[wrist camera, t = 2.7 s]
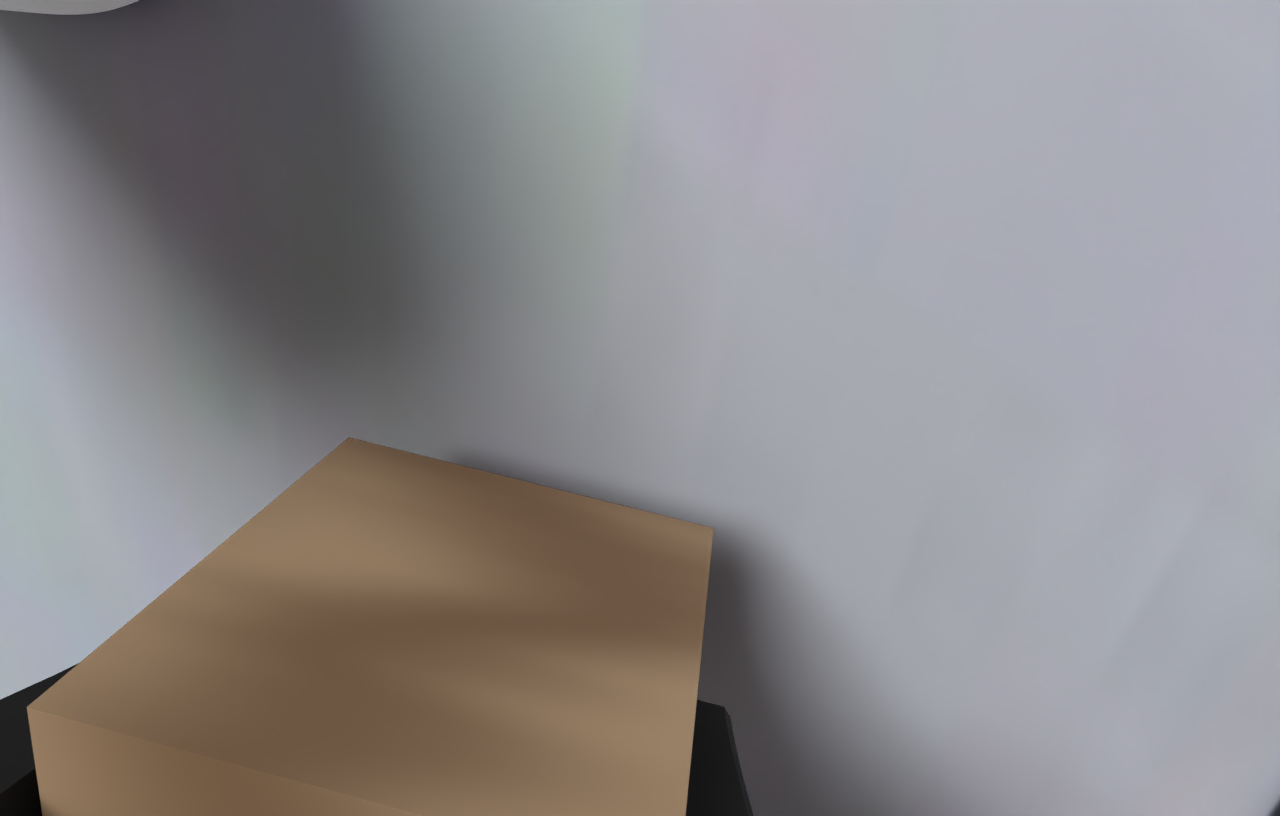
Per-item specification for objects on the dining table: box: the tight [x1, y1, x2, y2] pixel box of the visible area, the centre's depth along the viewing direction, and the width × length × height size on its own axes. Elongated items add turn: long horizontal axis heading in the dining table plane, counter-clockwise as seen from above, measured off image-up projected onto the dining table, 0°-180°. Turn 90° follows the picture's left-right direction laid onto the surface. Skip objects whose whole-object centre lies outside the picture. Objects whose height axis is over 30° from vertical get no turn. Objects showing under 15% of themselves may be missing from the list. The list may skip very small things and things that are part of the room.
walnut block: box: [27, 438, 714, 816], centre depth 9 cm, size 5×5×5 cm
